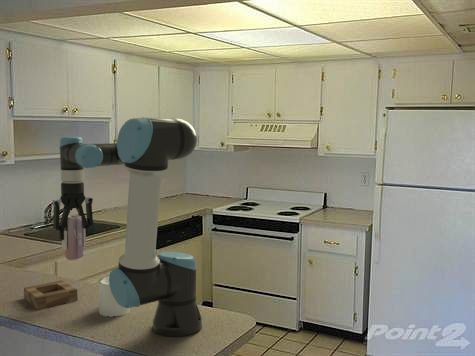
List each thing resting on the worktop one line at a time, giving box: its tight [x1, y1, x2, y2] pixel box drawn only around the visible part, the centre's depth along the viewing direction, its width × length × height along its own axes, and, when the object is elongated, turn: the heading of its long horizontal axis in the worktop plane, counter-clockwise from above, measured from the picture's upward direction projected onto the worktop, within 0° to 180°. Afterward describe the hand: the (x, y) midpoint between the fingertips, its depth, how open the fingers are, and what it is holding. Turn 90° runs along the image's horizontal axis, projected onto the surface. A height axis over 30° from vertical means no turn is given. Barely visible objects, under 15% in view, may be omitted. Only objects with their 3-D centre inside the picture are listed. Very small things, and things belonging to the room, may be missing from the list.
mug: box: [97, 276, 131, 318], centre depth 174 cm, size 14×10×11 cm
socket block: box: [23, 279, 78, 310], centre depth 184 cm, size 14×14×4 cm
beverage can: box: [64, 214, 84, 261], centre depth 179 cm, size 6×6×15 cm
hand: (74, 247), depth 179 cm, fingers closed on beverage can, 6 cm apart
